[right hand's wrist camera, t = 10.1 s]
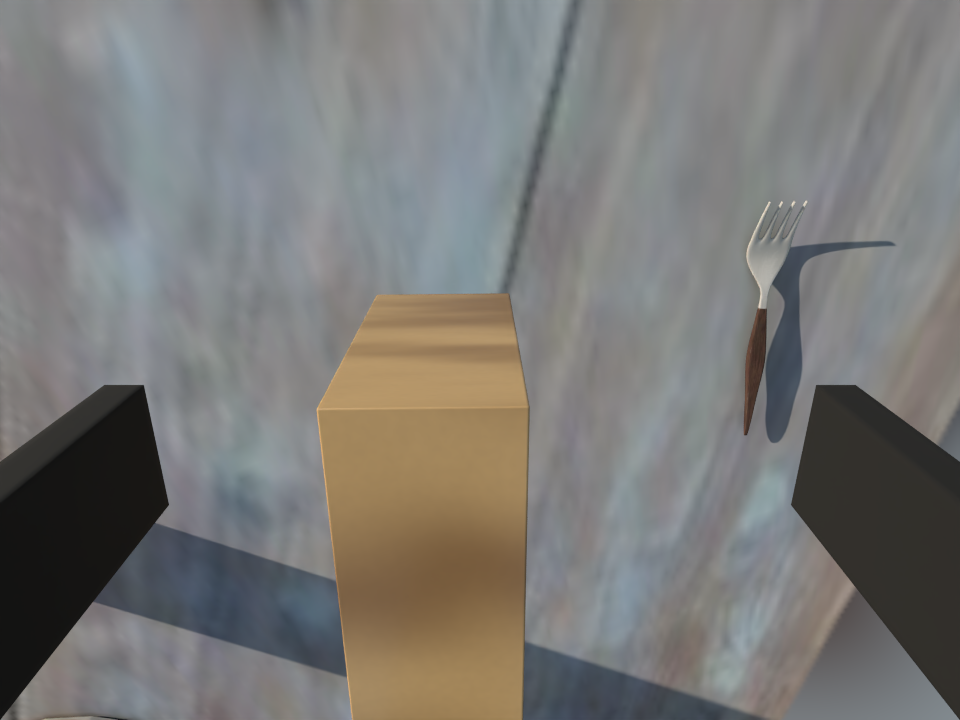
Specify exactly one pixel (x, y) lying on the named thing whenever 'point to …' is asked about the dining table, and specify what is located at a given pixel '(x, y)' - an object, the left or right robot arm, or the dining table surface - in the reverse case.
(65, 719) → the wall clock
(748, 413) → the fork
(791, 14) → the dining table surface
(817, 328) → the dining table surface
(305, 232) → the dining table surface
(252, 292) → the dining table surface
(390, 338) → the box
